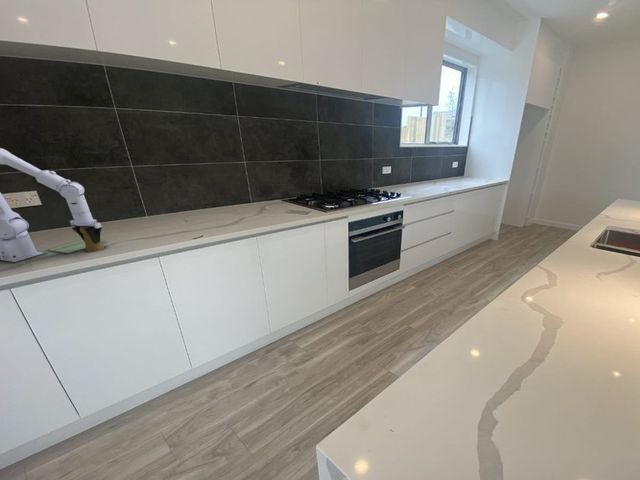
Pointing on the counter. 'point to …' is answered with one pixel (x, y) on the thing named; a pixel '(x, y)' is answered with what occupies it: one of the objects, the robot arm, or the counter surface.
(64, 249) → the napkin
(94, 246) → the cork
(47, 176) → the robot arm
